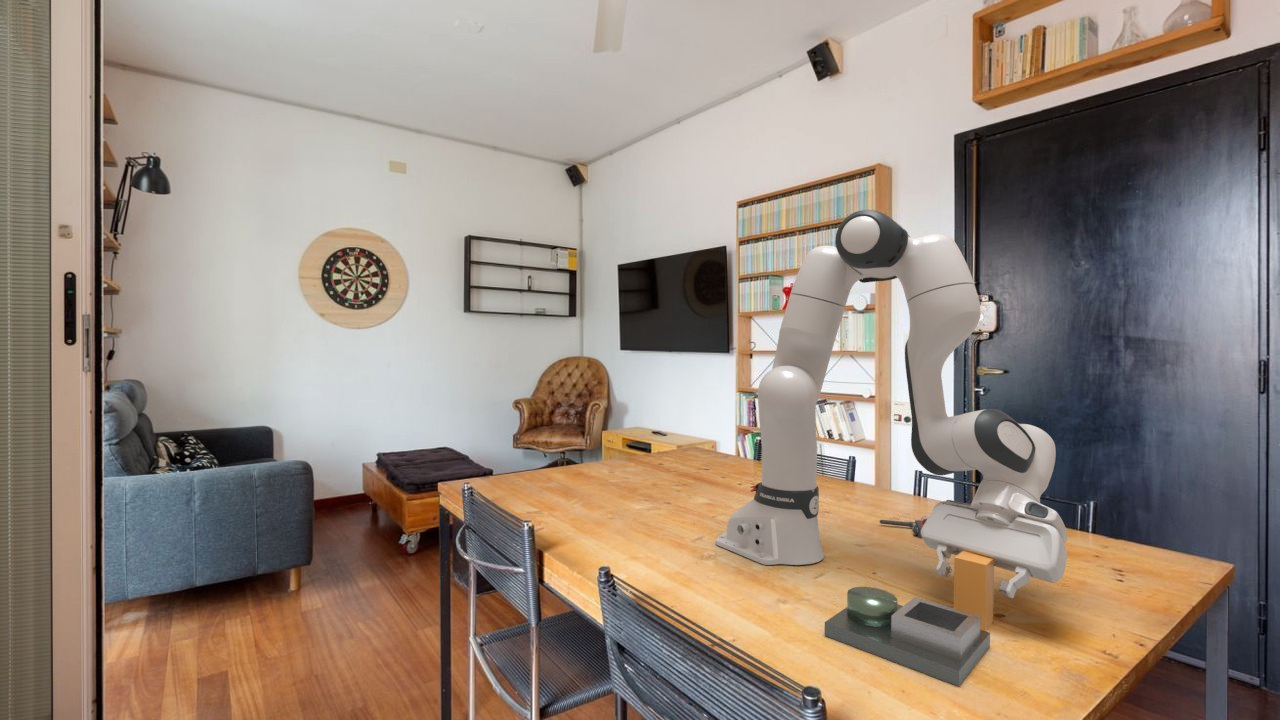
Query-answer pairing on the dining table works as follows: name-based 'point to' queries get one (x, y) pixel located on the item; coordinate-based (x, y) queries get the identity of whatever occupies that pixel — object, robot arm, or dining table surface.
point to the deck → (911, 633)
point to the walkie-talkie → (909, 525)
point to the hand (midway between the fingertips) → (972, 584)
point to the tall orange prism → (974, 586)
